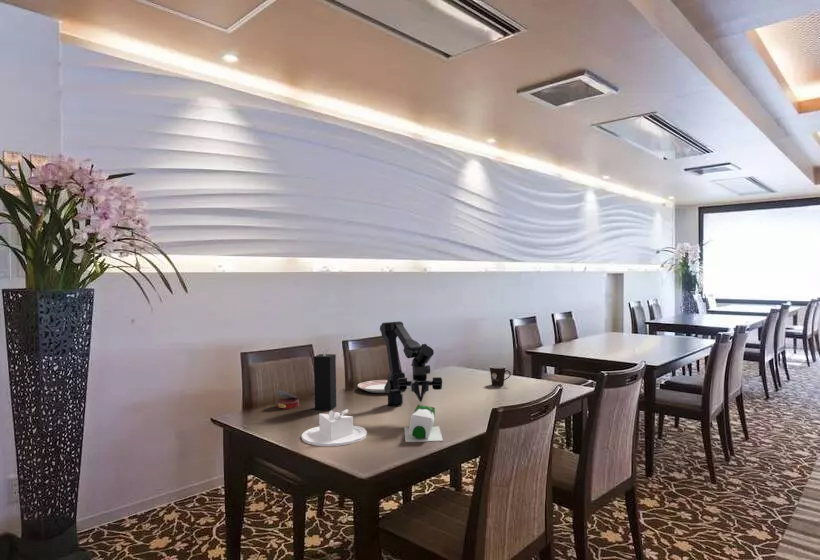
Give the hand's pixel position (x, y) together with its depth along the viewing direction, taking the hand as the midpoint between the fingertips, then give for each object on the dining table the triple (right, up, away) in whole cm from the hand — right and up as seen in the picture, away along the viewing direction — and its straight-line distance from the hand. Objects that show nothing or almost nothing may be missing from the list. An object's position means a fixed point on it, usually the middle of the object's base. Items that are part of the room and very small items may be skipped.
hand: (420, 401), depth 220 cm
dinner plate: (-19, -9, +67) cm, 70 cm away
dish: (-34, -11, -14) cm, 38 cm away
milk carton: (+2, -5, -2) cm, 6 cm away
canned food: (-62, -10, +33) cm, 71 cm away
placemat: (+1, -10, -13) cm, 17 cm away
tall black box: (-44, -10, +28) cm, 53 cm away
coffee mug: (+45, -8, +73) cm, 86 cm away
